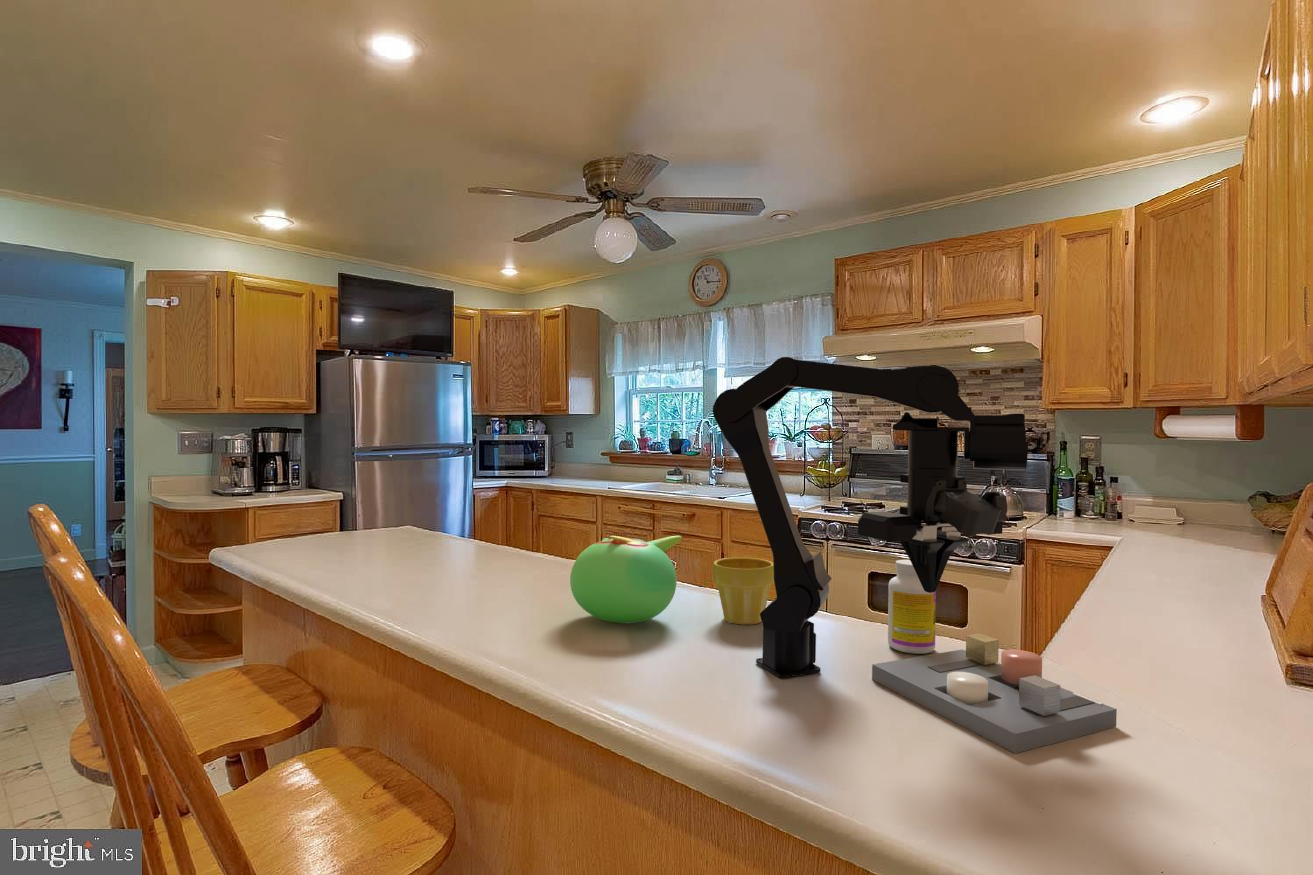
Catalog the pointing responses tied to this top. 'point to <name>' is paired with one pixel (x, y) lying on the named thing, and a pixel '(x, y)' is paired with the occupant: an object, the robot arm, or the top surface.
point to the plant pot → (743, 587)
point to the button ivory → (967, 687)
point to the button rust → (1019, 665)
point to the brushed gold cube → (982, 648)
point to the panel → (992, 702)
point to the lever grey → (1039, 695)
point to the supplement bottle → (910, 612)
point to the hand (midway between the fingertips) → (929, 591)
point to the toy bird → (624, 578)
